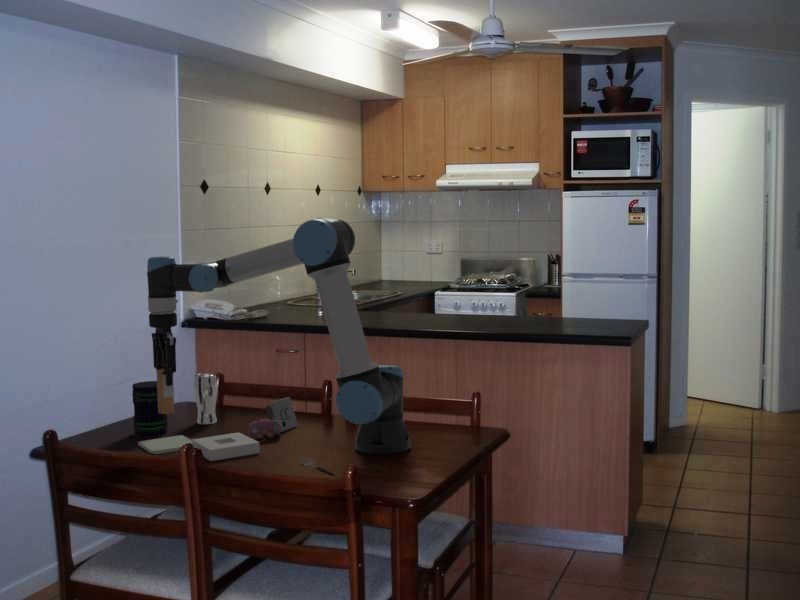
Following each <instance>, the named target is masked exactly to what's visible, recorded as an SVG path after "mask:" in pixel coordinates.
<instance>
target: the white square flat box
mask: <svg viewBox="0 0 800 600" xmlns="http://www.w3.org/2000/svg"><path fill="white" fill-rule="evenodd" d="M191 440H192V445H193V447H194V448H198V449H201V450H202V453H203V456H204V457H203V456H202V457H203V458H205V459H206V460H208V461H209V462H213V461H219V460H226V459H232V458H239V457H245V456H250V455H251V456H252V455H256V454H257V455H258V454H260V453H261V450H260V449H261V448H260V441H257V440H256V439H253V438H251V437H248V436H247V435H245V434H243V433H241V432H233V433H226V434H219V435H212V436H206V437H200V438H191Z"/></svg>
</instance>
